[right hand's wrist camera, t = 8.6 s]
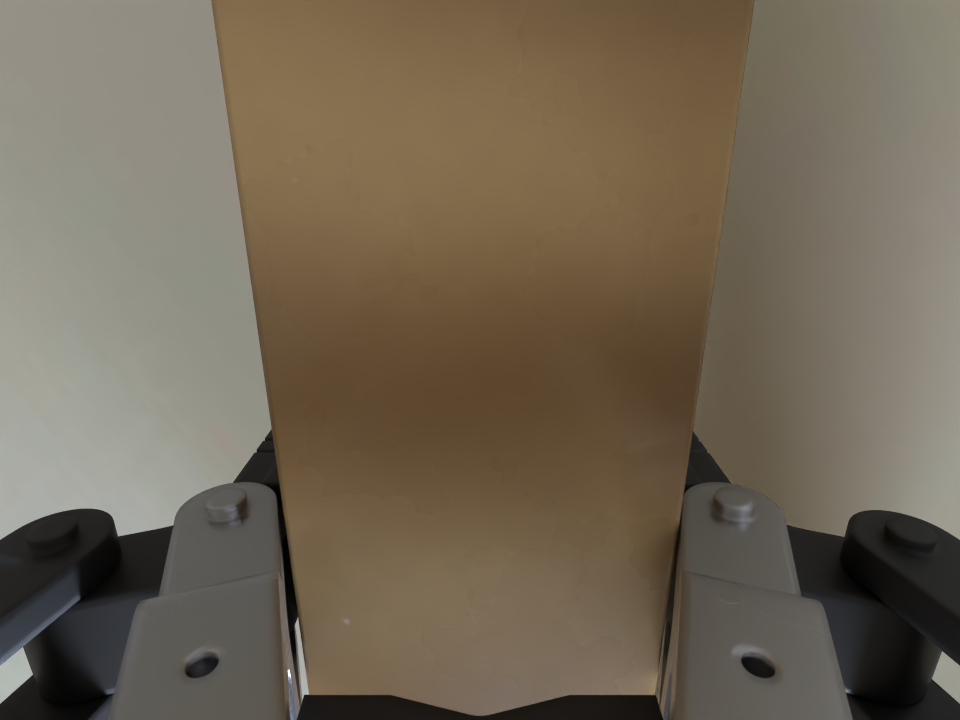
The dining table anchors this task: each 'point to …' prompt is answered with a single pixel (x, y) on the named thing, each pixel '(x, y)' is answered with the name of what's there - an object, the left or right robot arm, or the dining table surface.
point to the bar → (482, 324)
